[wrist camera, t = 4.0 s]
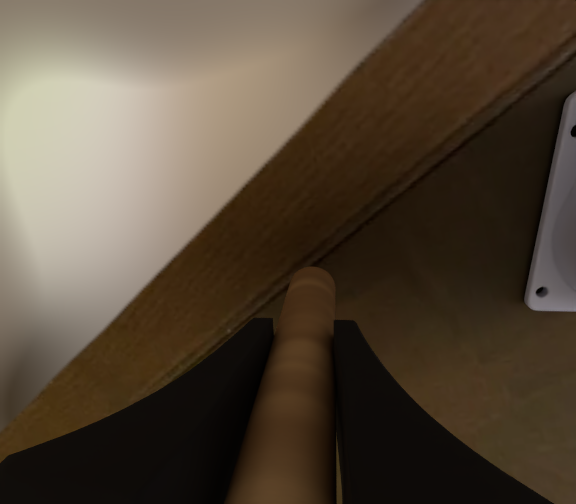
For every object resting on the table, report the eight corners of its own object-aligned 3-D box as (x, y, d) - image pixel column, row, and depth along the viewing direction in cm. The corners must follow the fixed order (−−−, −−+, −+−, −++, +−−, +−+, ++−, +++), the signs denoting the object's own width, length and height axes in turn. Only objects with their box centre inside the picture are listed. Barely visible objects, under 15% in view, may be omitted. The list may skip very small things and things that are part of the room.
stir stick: (288, 265, 15) (177, 584, 4) (335, 266, 14) (337, 608, 4) (290, 306, 15) (198, 669, 5) (335, 307, 15) (337, 694, 5)
